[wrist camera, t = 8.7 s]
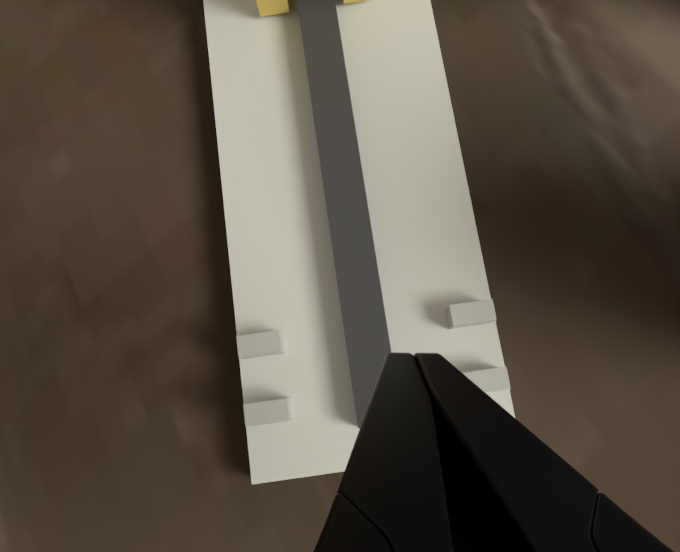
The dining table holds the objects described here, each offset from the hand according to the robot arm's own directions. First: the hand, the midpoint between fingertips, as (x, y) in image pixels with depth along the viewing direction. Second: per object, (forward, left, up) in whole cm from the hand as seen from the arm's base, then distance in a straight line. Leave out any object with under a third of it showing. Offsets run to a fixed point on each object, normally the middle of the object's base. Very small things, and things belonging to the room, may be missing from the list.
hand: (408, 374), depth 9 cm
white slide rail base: (+9, +8, -13) cm, 18 cm away
